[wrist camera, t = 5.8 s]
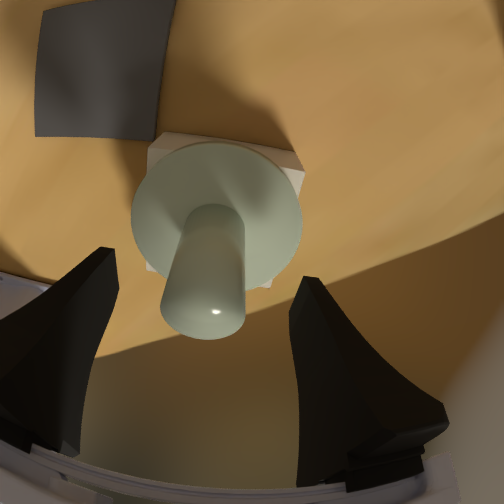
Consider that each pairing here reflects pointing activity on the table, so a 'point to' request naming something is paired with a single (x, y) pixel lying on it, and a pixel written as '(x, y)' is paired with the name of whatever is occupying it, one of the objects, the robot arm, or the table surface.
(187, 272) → the lid
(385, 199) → the table surface
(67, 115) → the mat
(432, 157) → the table surface
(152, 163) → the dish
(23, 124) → the table surface
